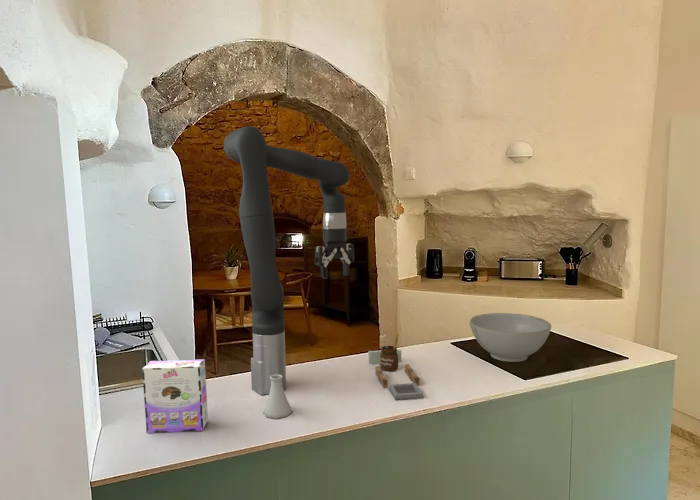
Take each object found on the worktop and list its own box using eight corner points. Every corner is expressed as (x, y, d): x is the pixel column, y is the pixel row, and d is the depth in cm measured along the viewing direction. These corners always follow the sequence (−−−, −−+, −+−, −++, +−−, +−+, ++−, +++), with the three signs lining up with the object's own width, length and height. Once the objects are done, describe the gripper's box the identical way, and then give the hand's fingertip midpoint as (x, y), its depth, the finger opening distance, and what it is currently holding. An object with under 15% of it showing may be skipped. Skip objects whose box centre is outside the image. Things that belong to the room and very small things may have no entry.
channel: (419, 385, 150) (419, 377, 149) (383, 388, 148) (383, 380, 148) (408, 371, 161) (408, 364, 161) (375, 374, 160) (375, 366, 160)
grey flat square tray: (423, 398, 141) (423, 393, 140) (395, 400, 139) (395, 395, 139) (415, 387, 148) (415, 382, 148) (388, 389, 147) (388, 384, 147)
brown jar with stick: (385, 364, 169) (385, 329, 167) (402, 368, 165) (402, 332, 164) (376, 369, 164) (376, 333, 162) (393, 373, 160) (393, 336, 159)
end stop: (401, 362, 171) (401, 350, 170) (369, 364, 169) (369, 352, 169) (400, 360, 172) (400, 349, 172) (368, 362, 171) (368, 351, 170)
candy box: (209, 421, 128) (206, 358, 126) (203, 432, 122) (199, 366, 121) (153, 422, 128) (150, 359, 126) (145, 433, 122) (141, 367, 120)
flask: (278, 405, 137) (277, 369, 136) (297, 412, 133) (296, 375, 132) (257, 414, 132) (256, 377, 131) (276, 422, 127) (275, 383, 126)
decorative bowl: (453, 355, 177) (453, 321, 176) (497, 340, 194) (498, 309, 193) (522, 375, 157) (523, 337, 155) (565, 357, 174) (566, 322, 172)
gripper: (345, 225, 169) (345, 273, 171) (309, 227, 160) (310, 278, 162) (359, 226, 163) (359, 276, 165) (323, 228, 154) (324, 281, 156)
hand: (335, 277), depth 163 cm, fingers open, 8 cm apart
